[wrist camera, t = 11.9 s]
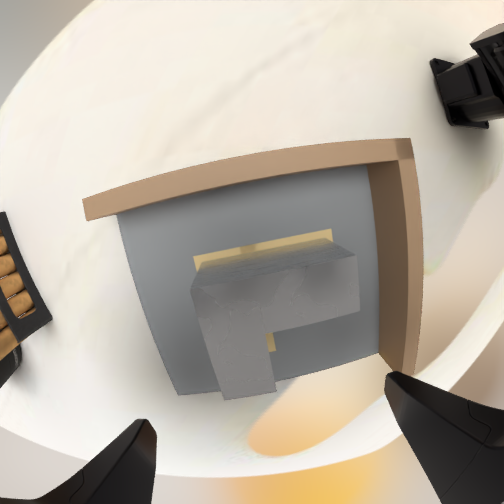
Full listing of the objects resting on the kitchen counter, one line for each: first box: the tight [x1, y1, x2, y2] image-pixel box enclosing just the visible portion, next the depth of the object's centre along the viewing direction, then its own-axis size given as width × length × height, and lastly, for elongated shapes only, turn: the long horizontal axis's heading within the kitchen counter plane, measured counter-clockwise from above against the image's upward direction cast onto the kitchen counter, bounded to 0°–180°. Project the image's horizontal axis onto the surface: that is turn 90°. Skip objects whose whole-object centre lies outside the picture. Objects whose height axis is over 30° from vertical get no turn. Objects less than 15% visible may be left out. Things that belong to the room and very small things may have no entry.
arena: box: [82, 138, 423, 395], centre depth 16 cm, size 18×16×5 cm
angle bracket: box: [190, 238, 360, 400], centre depth 16 cm, size 7×8×5 cm
